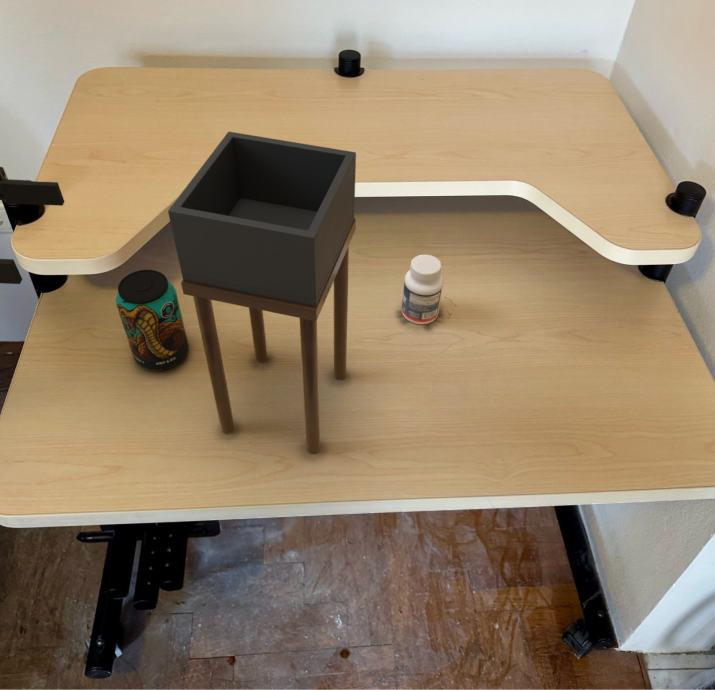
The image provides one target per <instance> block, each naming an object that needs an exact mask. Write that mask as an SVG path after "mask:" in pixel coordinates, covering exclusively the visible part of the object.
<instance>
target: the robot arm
mask: <svg viewBox="0 0 715 690" xmlns="http://www.w3.org/2000/svg"><path fill="white" fill-rule="evenodd" d="M2 200H5V202H6V204H8V205H9V204H10V205H11V204H14V205H33V206H34V205H35V206H60V207H61V206H64V204H65V199H64V195H63V193H62V190H61V188H60V184H59V182H57V181H38V180H37V181H36V180H30V179H9V178H8V175H7V173H6V170H5V168H4V167H3V166H0V201H2ZM22 281H23V278H22V275H21V273H20V270H19V268H18V266H17V264H16V262H15V260H14V259H13V258H0V284H7V285H21V284H22Z"/></svg>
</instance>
